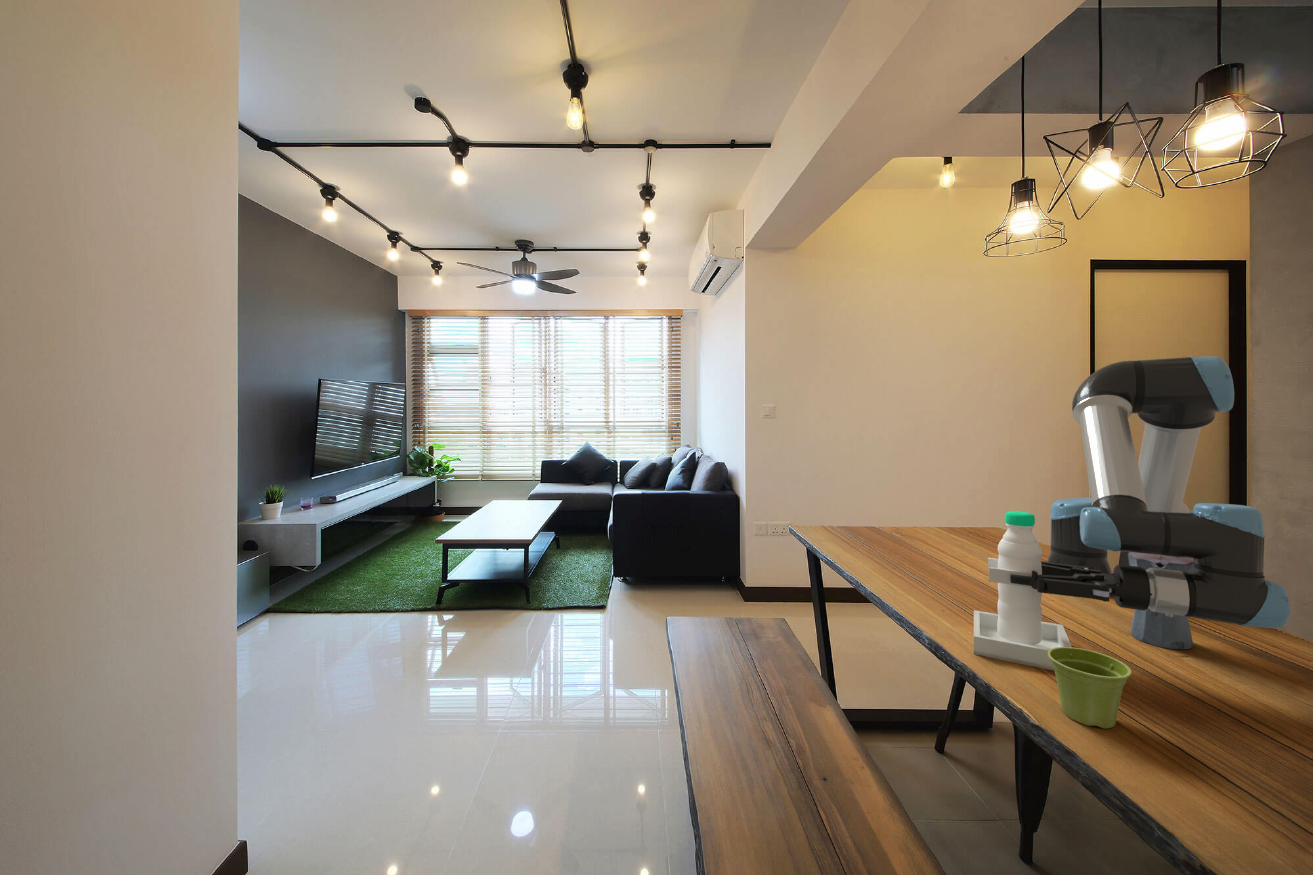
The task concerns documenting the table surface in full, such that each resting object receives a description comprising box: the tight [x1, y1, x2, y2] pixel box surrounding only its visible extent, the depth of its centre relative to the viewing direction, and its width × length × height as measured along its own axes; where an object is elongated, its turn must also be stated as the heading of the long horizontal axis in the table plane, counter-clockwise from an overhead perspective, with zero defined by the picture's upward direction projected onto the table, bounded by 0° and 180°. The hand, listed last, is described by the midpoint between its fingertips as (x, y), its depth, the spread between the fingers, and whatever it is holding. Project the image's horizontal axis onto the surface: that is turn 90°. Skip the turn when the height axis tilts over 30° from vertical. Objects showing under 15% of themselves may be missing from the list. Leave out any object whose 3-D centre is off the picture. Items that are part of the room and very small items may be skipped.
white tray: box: [973, 610, 1073, 672], centre depth 96 cm, size 15×15×4 cm
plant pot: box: [1048, 646, 1132, 729], centre depth 73 cm, size 9×9×9 cm
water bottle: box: [997, 510, 1043, 645], centre depth 95 cm, size 7×7×25 cm
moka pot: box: [1127, 552, 1195, 650], centre depth 98 cm, size 10×15×20 cm, turn 137°
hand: (988, 569), depth 98 cm, fingers closed on water bottle, 7 cm apart
